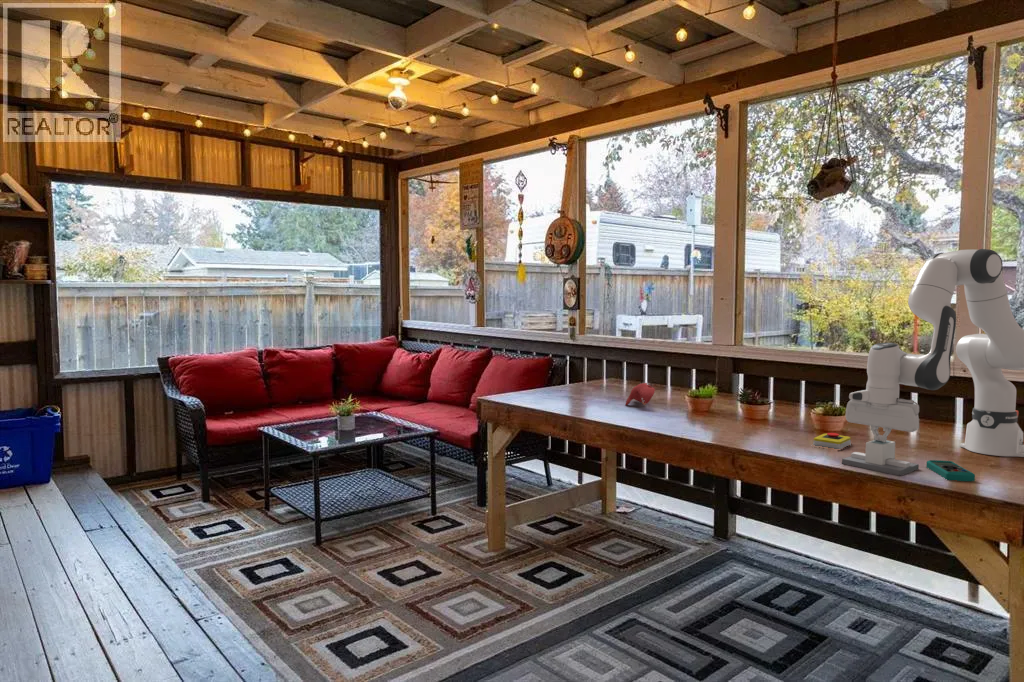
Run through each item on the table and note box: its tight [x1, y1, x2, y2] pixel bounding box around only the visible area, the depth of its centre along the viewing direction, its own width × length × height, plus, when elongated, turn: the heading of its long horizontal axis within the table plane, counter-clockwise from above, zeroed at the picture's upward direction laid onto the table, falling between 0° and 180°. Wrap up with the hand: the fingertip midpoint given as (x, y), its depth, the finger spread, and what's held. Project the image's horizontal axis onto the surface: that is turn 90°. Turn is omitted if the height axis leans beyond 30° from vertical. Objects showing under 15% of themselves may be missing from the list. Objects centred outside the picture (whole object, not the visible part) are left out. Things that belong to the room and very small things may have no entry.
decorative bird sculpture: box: [624, 382, 656, 406], centre depth 311 cm, size 28×9×15 cm
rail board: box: [841, 451, 920, 477], centre depth 202 cm, size 12×17×3 cm
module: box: [864, 439, 896, 465], centre depth 202 cm, size 8×5×6 cm, turn 126°
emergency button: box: [812, 432, 852, 450], centre depth 230 cm, size 9×4×15 cm
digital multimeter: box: [926, 459, 976, 482], centre depth 193 cm, size 7×15×3 cm, turn 169°
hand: (880, 441), depth 202 cm, fingers closed, pressing on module
